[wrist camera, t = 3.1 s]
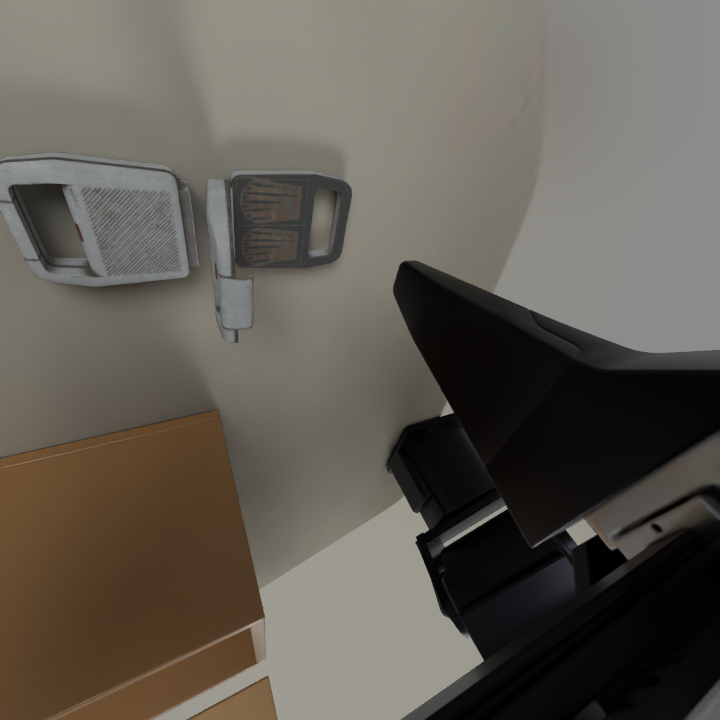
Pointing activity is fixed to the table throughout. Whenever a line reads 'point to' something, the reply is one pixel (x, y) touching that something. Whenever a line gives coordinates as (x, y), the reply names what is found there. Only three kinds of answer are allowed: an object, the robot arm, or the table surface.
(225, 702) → the flap
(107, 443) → the cardboard box
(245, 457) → the table surface
